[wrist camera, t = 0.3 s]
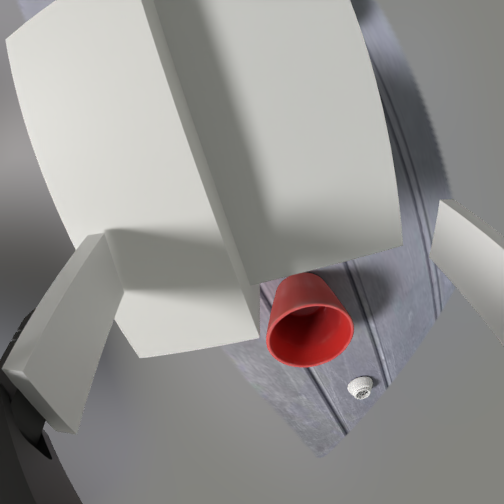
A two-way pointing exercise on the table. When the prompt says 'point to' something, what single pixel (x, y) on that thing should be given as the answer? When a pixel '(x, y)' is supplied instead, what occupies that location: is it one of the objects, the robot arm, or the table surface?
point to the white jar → (360, 387)
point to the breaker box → (207, 150)
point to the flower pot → (307, 322)
